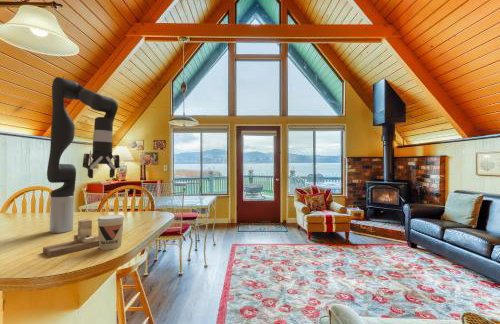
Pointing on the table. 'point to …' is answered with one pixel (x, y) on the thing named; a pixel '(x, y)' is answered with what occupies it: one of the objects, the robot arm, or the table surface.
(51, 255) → the board
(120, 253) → the table surface
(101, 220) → the coffee cup
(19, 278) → the table surface
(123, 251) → the table surface
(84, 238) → the beige stepped block
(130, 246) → the table surface
